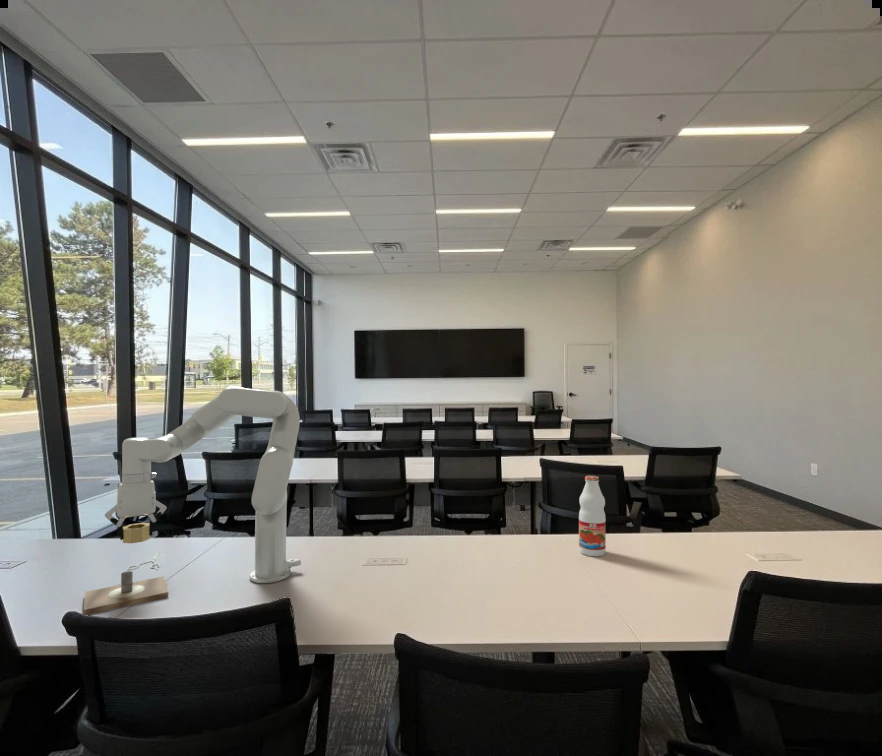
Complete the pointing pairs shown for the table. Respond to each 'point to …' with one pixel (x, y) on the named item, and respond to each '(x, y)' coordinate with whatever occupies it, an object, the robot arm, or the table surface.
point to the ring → (136, 533)
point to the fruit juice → (592, 519)
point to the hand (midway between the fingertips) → (136, 536)
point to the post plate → (125, 594)
